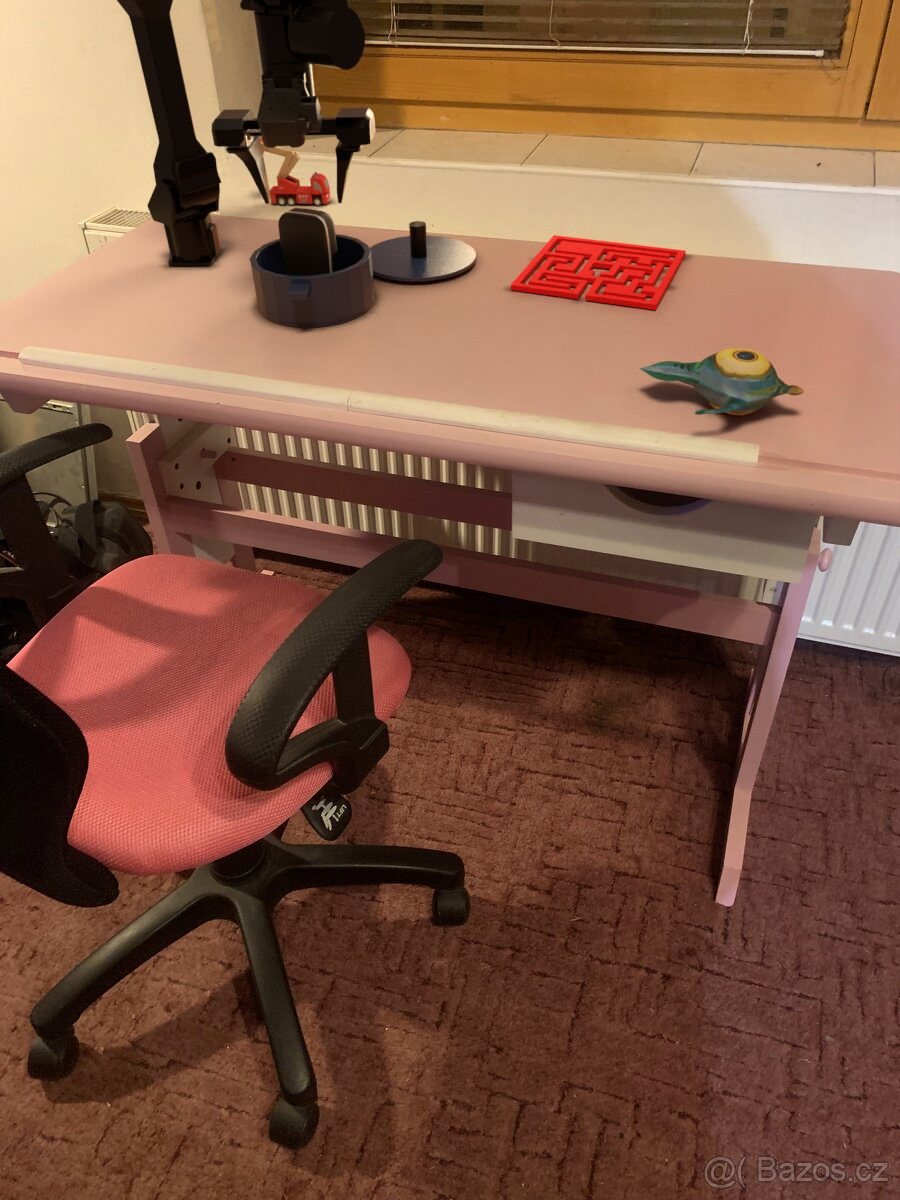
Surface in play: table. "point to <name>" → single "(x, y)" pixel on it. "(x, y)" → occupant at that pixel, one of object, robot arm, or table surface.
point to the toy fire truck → (296, 182)
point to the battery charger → (307, 242)
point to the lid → (421, 256)
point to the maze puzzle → (615, 288)
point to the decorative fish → (728, 380)
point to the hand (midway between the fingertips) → (304, 202)
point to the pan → (314, 286)
